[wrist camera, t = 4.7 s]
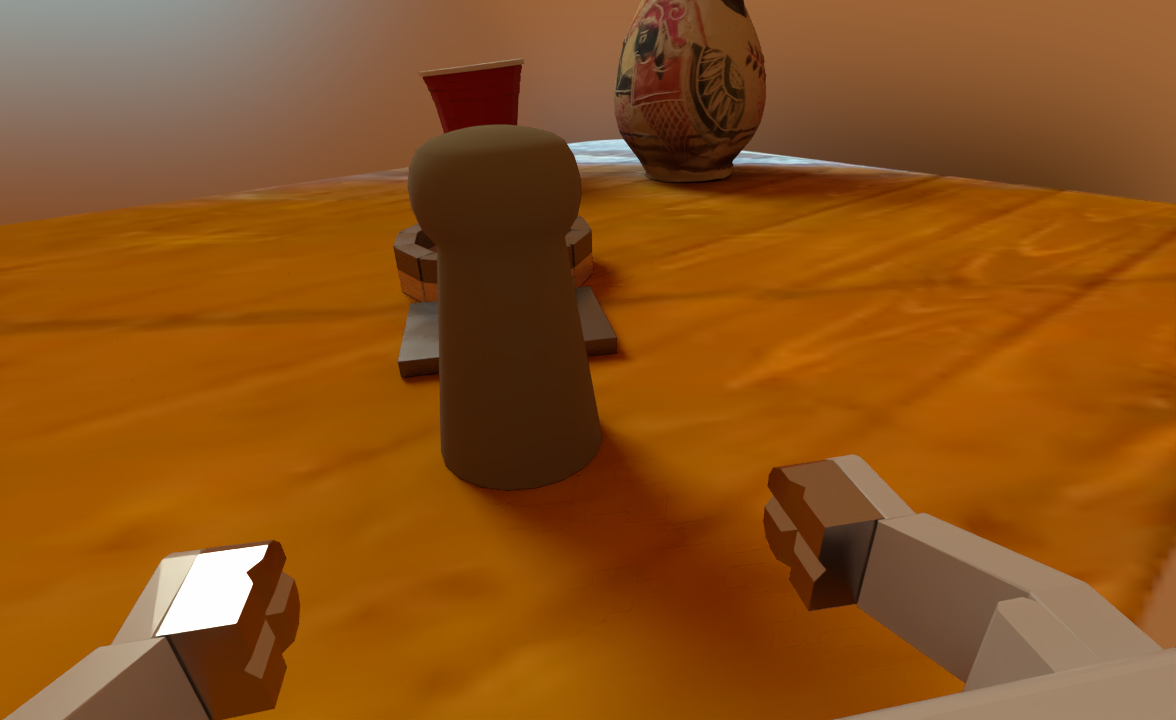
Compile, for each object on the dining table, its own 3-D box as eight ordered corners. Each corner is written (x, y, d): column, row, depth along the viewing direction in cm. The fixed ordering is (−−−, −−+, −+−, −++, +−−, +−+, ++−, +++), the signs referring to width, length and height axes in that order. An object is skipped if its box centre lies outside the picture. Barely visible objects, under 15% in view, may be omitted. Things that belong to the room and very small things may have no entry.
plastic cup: (449, 173, 72) (433, 61, 66) (539, 171, 71) (531, 57, 65) (422, 194, 62) (401, 64, 57) (526, 191, 61) (515, 59, 56)
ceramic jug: (585, 180, 65) (571, -179, 52) (668, 158, 75) (676, -147, 62) (722, 200, 55) (751, -242, 41) (798, 172, 65) (842, -192, 51)
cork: (524, 382, 27) (498, 113, 21) (634, 429, 23) (634, 120, 18) (407, 446, 23) (341, 134, 17) (520, 515, 19) (477, 150, 14)
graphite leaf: (378, 379, 27) (365, 323, 26) (411, 254, 44) (404, 215, 42) (637, 350, 29) (637, 295, 28) (574, 240, 46) (572, 202, 44)
